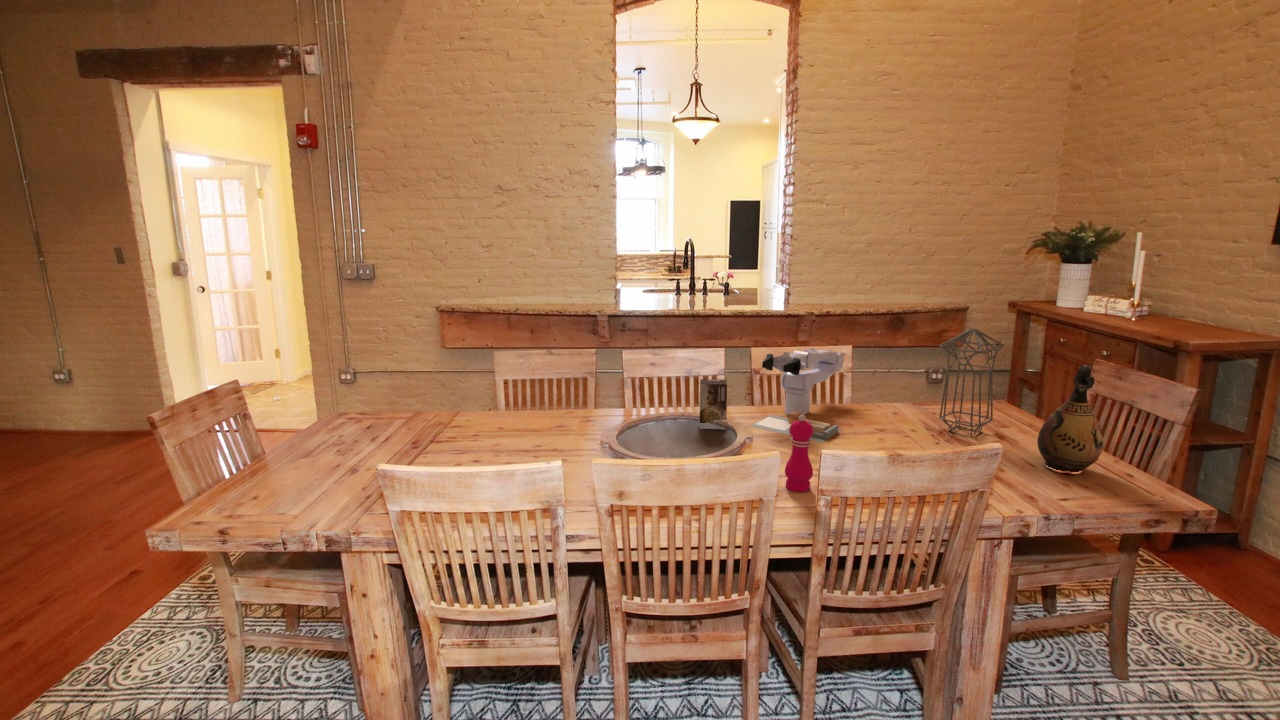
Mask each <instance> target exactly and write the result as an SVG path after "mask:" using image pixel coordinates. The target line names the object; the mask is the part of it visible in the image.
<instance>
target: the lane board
mask: <svg viewBox="0 0 1280 720" xmlns="http://www.w3.org/2000/svg"><path fill="white" fill-rule="evenodd" d="M788 421H789V417H783V416H778V415H773V414H769V415H768V416H765V417H763V418H762V419H760V420H758V421H756V422H754V423H752V424H750V425H749V427H752V428H757V429H760V430H765V431H768V432H773V433H777V434H778V433H779V434H782V435H787V436H791V434H790V426H791V424H788ZM841 431H842V429H840V428H839V424H834V425H832V426H830V428H829V429H827V430H825V431H824V432H823V434H820V433H816V432H813V435H812V437H811V438H810V440H811V441H813V442H817V443H824V442H826V441H828V440H829V439H830V438H832V437H833V436H835V435H836V434H838V433H840V432H841Z"/></svg>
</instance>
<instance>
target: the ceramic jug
mask: <svg viewBox="0 0 1280 720" xmlns="http://www.w3.org/2000/svg"><path fill="white" fill-rule="evenodd" d="M1092 370H1093V367H1092V366H1090V365H1088V364H1084V365H1081V366H1080V367H1079V368H1078V370H1077V373H1076V374H1075V375H1074V377H1073V384H1074V386H1073V390H1072V391H1073V392H1072V394H1071V395H1070V397H1069V399H1068V400H1066V401H1065V402H1063V403H1062V404H1061V405H1060V406H1058V408H1057V409H1055V410H1054V412H1052V413H1051V414H1050V415H1049V416H1048V417H1047V418H1046V419H1045V420H1044V423H1043V425H1041V426H1042V427H1040V430H1039V432H1038V435H1037V436H1038V437H1037V447H1038V451H1039V453H1040V455H1041V457H1042V458H1043V460H1044V466H1045V465H1047V466H1048V467H1051V468H1053V469H1056V470H1061V471H1070V472H1079V471H1083V470H1084V471H1085V470H1086V469H1087V468H1089V467H1090V466H1092V465H1093V464H1094V463H1095V462H1097V461H1098V460H1099V458H1100V456H1101V454H1102V452H1103V448H1104V439H1103V438H1104V435H1103V432H1102V431H1103V430H1102V428H1101V424H1100V423H1099V420H1098V419H1097V417H1096V414H1095V411H1094V410H1093V409H1092V407H1091V406H1090V402H1089V400H1088V395H1087V393H1088V390H1091V389H1092V388H1093V387H1094V384H1095V378H1094V376H1091V373H1092Z"/></svg>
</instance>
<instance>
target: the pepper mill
mask: <svg viewBox="0 0 1280 720" xmlns="http://www.w3.org/2000/svg"><path fill="white" fill-rule="evenodd" d="M806 419H807V418H806V415H800V416H799V420H797V421H795V422H793V423H792V424H791V426H790V434H791V435H790V436H791V438H790V444H791V445H792V446H791V447H792V449H791V454H790V457H788V458H789V459H788V461H787V462H786V464H785V469H784V474H785V476H786V480H785V487H786V489H788V490H789V491H791V492H795V493H806V492H808V491H810V489H811V481H810V480H811V479H812V477H813V476H814V471H813V470H814V469H813V465H812V463H811V459H810V457H809V448H810V447H809V446H811V441H812V440H810V438H811V437H812V435H813V427H812V425H811V424H810V423H809V422H807V421H805V420H806Z"/></svg>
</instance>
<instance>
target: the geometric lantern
mask: <svg viewBox="0 0 1280 720" xmlns="http://www.w3.org/2000/svg"><path fill="white" fill-rule="evenodd" d="M972 335H973V336H974V338H975V340H976V342H975V341H974V342H973V341H971V338H972ZM967 338H968V339H967ZM986 338H987V339H988V340H987V339H986ZM989 340H991V342H992V343H990V342H989ZM960 341H961V342H960ZM958 342H960V343H959V344H958ZM981 342H982V343H981ZM957 344H958V345H957ZM963 344H965V347H964V349H962V348H960V347H961V346H962V345H963ZM970 344H972V345H977V348H976V349H975V348H974V347H973V346H972V345H970ZM956 345H957V347H956ZM983 346H984V347H985V348H986V349H985V350H984V348H983ZM939 347H941V349H943V350H944V351H945V352H947V369H946V373H945V379H944V380H945V381H944V387H943V394H942V398H941V404H940V405H941V406H940V409H939V412H940V413H939V420H941V421H942V422H944V423H945V425H947V427H948V432H949V431H950V432H949V433H951V432H953V433H952V434H956V433H957V432H956V431H953V430H954V429H959V430H964V431H968V432H970V436H974V435H976V432H977V431H976V430H980V431H982V432H983V427H985V426H986V425H988V424H989V423H991V422H993V420H994V419H993V418H994V417H993V415H994V410H993V401H994V399H993V389H994V387H993V371H994V367H995V362H996V358H997V354H999V352H1000V351H1001V350H1002V349H1003V347H1005V344H1003V343H1001V342H999V341H998V340H996V339H994V338H993V337H991V336H989V335H987V334H986V333H984V332H982V331H981V330H979V329H977V328H969V329H968V330H966V331H964V332H962V333H960V334H958V335H956V336H955V337H953V338H950V339H949V340H947V341H945V342H943V343H941V344H939ZM968 347H969V348H970V349H971V350H969V349H968ZM950 349H951V351H950ZM957 351H959V352H963V356H961V357H960V356H958V354H957ZM993 351H994V352H995V353H994V354H993ZM966 353H972V354H969V355H967V356H966ZM979 354H981V355H984V357H985V359H986V362H985V364H984V365H976V364H971V363H970V361H971V360H972V359H973V357H974V356H976V355H979ZM950 356H952V357H953V358H954V361H953V362H952V363H951V365H950ZM960 360H965V361H966V362H965V363H961V362H960ZM989 360H990V361H991V360H992V365H991V364H990V363H989ZM956 361H958V363H957V364H954V363H955V362H956ZM987 364H988V366H986V365H987ZM956 366H957V367H958V369H953V368H954V367H956ZM961 366H962V367H963V366H964V368H963V370H960V369H961ZM967 366H969V367H970V369H971V371H972V372H970V371H967ZM973 367H975V368H976V367H977V368H981V370H980V371H979V372H976V371H975V369H974V368H973ZM984 369H988V370H986V371H983V370H984ZM950 371H952V372H953V371H954V372H957V374H956V375H957V376H956V382H955V388H954V397H953V403H952V408H951V411H950V412H949V413H946V412H947V401H948V390H949V389H948V388H949V379H950ZM960 372H961V373H963V378H962V385H961V386H962V388H961V398H960V408H959V411H958V410H957V411H956V410H955V407H956V398H957V393H958V392H957V390H958V385H959V377H960ZM986 373H989V375H988V390H987V407H986V415H981V414H982V412H981V411H982V409H981V408H982V406H981V405H982V375H983V374H986ZM966 374H973V375H972V388H971V404H970V405H971V407H970V408H971V409H970V413H969V412H964V411H963V400H964V390H965V383H966V382H965V380H966ZM976 375H978V376H979V377H978V378H979V381H978V383H979V385H978V414H976V413H974V402H975V401H974V399H975V383H976V382H975V381H976ZM989 412H990V417H989ZM942 414H943V415H942ZM952 414H953V417H954V419H955V421H953V420H949V419H946V417H947V416H951V415H952ZM956 414H959V417H958V420H957V417H956ZM962 415H970V422H968V421H964V420H963V421H961V416H962ZM973 416H975V417H978V423H975V422H973V420H974V417H973ZM981 418H984V420H982V419H981ZM981 420H982V421H981ZM950 423H951V424H950ZM954 424H955V426H953V425H954ZM962 427H964V428H962ZM967 428H971V429H967ZM973 429H975V430H973ZM973 432H974V433H973ZM958 433H959V434H958V435H960V434H962V433H960V432H958Z"/></svg>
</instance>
